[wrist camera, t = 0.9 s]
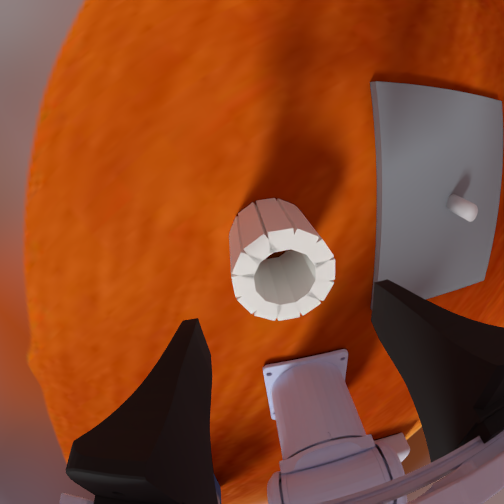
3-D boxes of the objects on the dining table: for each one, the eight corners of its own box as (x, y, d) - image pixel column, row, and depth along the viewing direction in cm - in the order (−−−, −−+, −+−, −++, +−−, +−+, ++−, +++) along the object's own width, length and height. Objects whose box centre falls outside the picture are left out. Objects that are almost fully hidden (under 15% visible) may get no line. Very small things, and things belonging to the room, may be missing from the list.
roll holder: (479, 276, 24) (498, 292, 21) (370, 308, 24) (386, 331, 21) (495, 100, 16) (521, 103, 13) (370, 82, 16) (395, 78, 13)
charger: (317, 450, 36) (401, 429, 37) (306, 471, 40) (382, 453, 41) (324, 475, 32) (411, 451, 33) (311, 493, 36) (390, 473, 37)
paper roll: (310, 265, 21) (334, 309, 16) (236, 277, 21) (241, 327, 16) (305, 193, 19) (334, 221, 14) (223, 205, 19) (224, 238, 14)
